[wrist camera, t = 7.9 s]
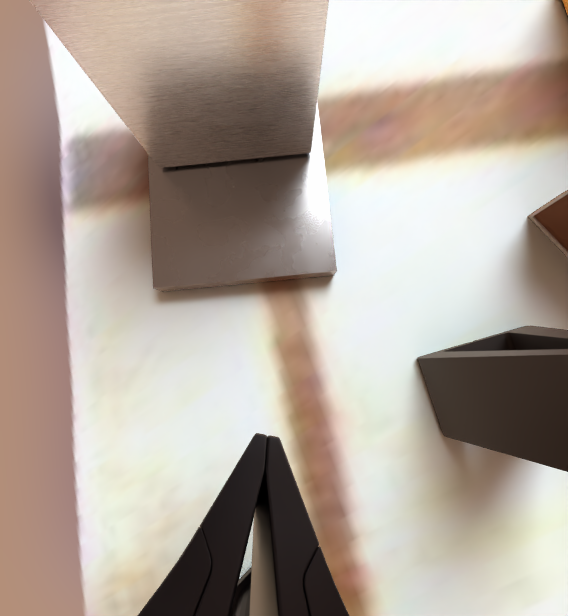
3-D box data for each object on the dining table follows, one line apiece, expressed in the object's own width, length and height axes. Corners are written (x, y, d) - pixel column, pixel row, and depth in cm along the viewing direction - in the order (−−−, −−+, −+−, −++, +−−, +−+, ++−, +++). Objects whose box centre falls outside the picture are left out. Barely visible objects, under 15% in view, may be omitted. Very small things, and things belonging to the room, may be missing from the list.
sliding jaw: (311, 152, 21) (333, -43, 10) (159, 167, 21) (22, -9, 10) (307, 123, 22) (326, -98, 11) (157, 138, 22) (22, -64, 11)
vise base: (333, 275, 22) (390, 196, 10) (162, 291, 22) (-1, 234, 10) (308, 55, 24) (328, -244, 12) (152, 71, 24) (9, -206, 12)
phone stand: (440, 434, 21) (648, 568, 9) (415, 356, 21) (576, 383, 9) (554, 401, 21) (914, 491, 9) (525, 325, 21) (825, 312, 9)
